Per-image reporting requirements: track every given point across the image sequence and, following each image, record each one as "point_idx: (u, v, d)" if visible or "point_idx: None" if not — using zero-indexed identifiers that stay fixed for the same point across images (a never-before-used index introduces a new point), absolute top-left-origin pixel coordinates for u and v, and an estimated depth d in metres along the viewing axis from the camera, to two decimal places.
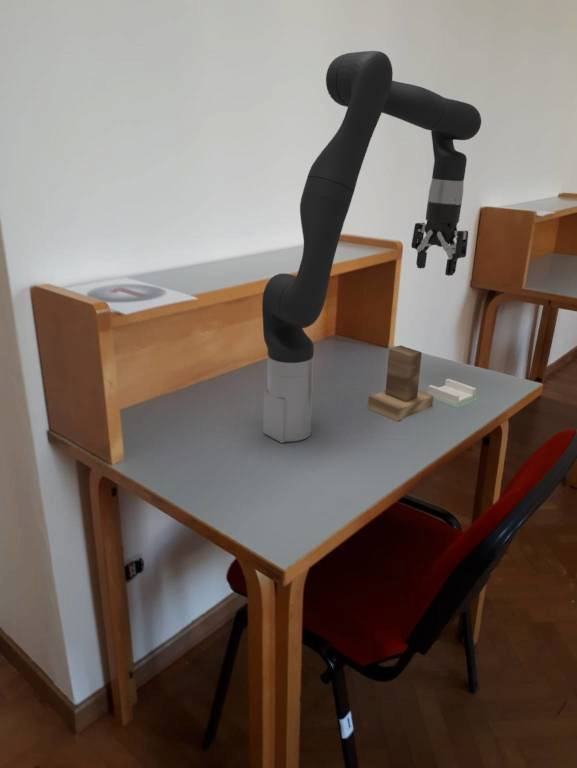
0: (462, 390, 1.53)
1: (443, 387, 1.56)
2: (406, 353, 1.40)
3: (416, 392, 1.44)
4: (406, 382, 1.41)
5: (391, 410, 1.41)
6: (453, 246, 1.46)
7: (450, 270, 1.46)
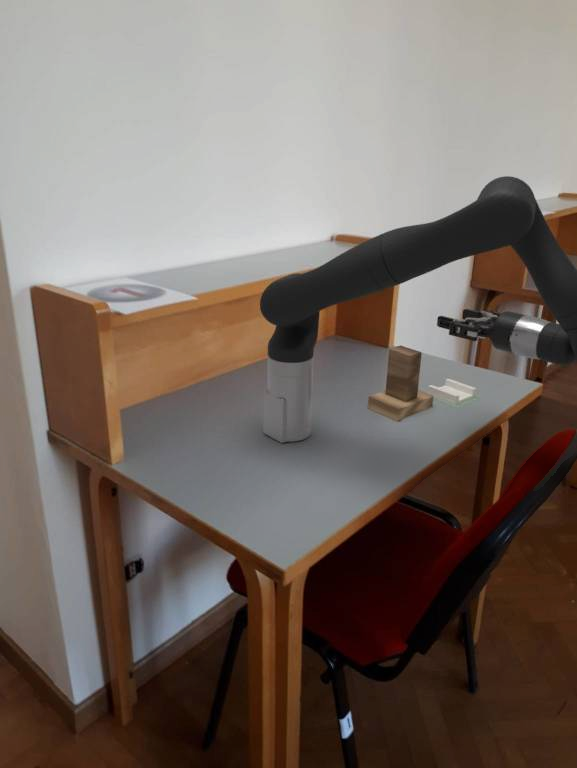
0: (462, 390, 1.53)
1: (443, 387, 1.56)
2: (406, 353, 1.40)
3: (416, 392, 1.44)
4: (406, 382, 1.41)
5: (391, 410, 1.41)
6: None
7: (441, 319, 1.26)
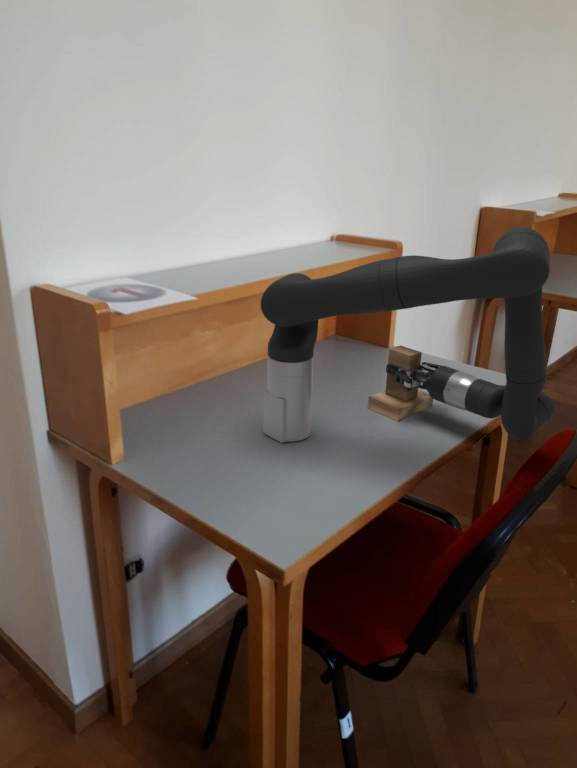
0: None
1: None
2: (406, 353, 1.40)
3: (416, 392, 1.44)
4: None
5: (391, 410, 1.41)
6: None
7: (389, 367, 1.42)
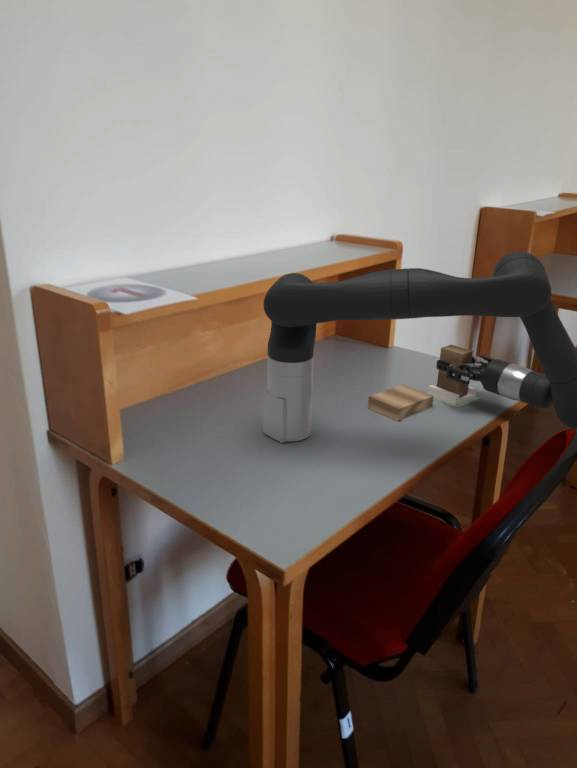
0: None
1: None
2: (458, 352, 1.47)
3: (467, 389, 1.51)
4: None
5: (391, 410, 1.41)
6: None
7: (440, 363, 1.47)
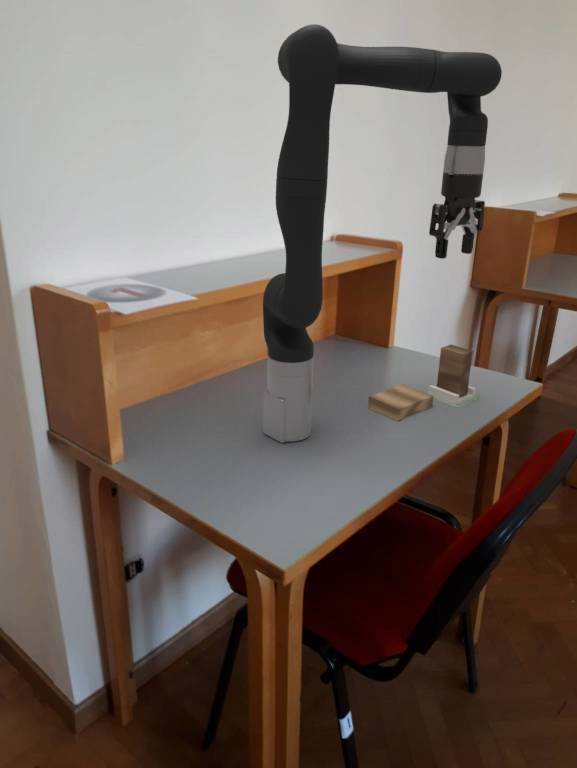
0: None
1: None
2: (458, 352, 1.47)
3: (467, 389, 1.51)
4: (458, 379, 1.48)
5: (391, 410, 1.41)
6: (447, 224, 1.23)
7: None
